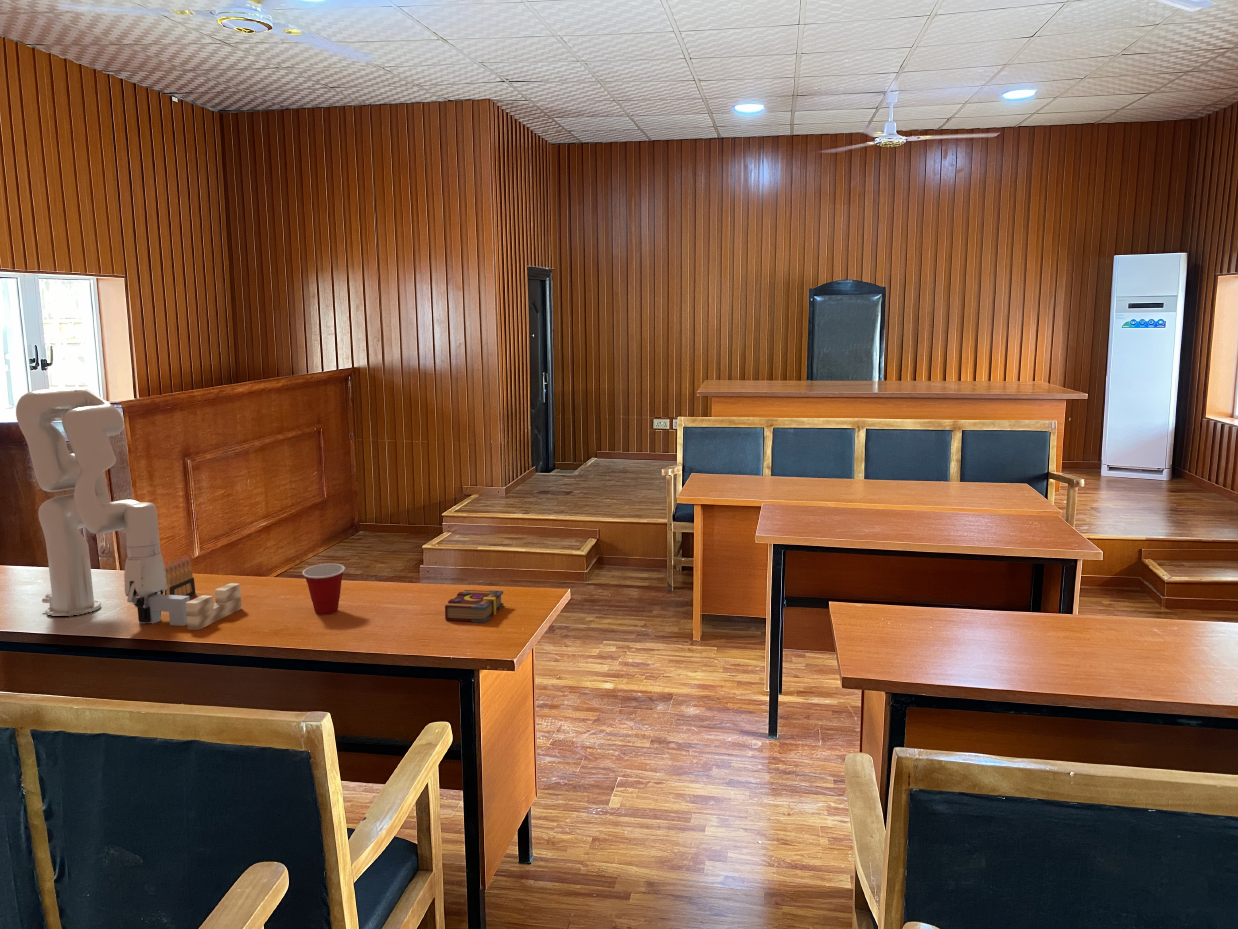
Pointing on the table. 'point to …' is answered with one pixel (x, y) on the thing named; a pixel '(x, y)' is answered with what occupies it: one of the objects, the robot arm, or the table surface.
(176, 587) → the ammunition clip
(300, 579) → the table surface
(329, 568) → the plastic cup
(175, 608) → the grey block
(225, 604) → the birch block
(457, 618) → the decorative book
